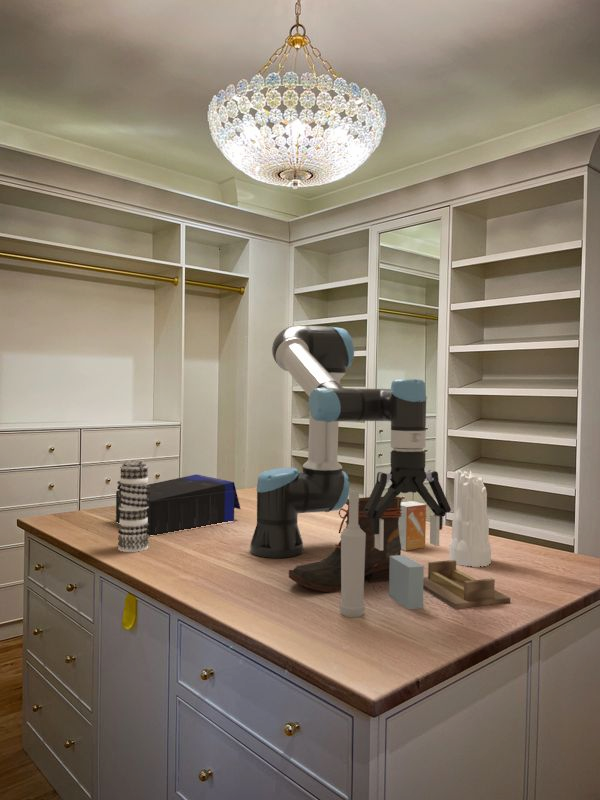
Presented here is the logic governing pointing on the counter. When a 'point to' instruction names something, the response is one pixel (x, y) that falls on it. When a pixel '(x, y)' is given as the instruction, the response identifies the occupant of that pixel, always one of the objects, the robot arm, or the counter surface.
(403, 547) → the small box
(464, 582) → the track sill
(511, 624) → the counter surface
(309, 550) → the counter surface
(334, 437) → the robot arm
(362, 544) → the bottle
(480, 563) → the decorative vase
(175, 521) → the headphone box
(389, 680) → the counter surface
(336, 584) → the ankle boot
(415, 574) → the light gray rectangular block
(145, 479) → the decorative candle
